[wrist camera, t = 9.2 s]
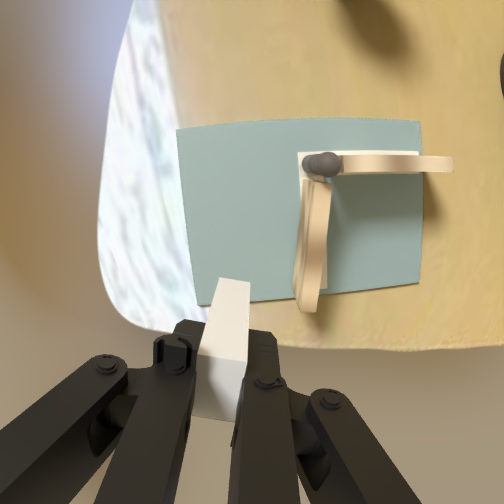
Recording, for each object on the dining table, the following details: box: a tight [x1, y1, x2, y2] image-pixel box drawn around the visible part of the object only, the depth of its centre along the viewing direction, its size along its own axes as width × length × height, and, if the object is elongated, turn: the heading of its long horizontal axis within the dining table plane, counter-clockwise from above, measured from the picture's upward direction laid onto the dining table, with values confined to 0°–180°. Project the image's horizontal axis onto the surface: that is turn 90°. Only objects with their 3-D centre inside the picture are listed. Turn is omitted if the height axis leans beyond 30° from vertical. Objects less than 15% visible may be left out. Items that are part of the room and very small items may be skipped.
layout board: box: [176, 118, 423, 305], centre depth 31 cm, size 25×18×1 cm
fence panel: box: [292, 179, 332, 312], centre depth 29 cm, size 11×2×6 cm, turn 176°
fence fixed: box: [302, 152, 453, 178], centre depth 26 cm, size 14×2×8 cm, turn 95°
